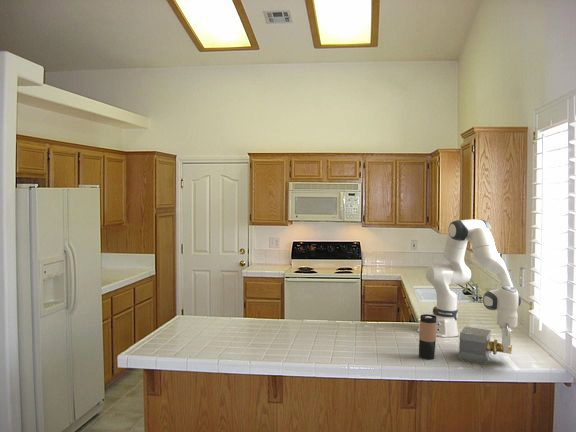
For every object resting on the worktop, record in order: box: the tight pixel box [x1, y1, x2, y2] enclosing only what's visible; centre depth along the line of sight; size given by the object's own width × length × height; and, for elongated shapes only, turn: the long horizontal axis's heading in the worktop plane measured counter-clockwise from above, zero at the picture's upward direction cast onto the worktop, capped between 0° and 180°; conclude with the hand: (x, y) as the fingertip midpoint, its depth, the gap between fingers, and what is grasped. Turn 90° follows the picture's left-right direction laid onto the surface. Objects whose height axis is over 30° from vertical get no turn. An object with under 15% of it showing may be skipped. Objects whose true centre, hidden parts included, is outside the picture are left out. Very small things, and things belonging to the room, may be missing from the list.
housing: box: [458, 325, 492, 365], centre depth 256 cm, size 12×14×13 cm
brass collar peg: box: [487, 338, 513, 355], centre depth 252 cm, size 15×7×7 cm, turn 62°
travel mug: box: [418, 313, 437, 361], centre depth 254 cm, size 8×8×20 cm
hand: (505, 350), depth 249 cm, fingers closed on brass collar peg, 4 cm apart
